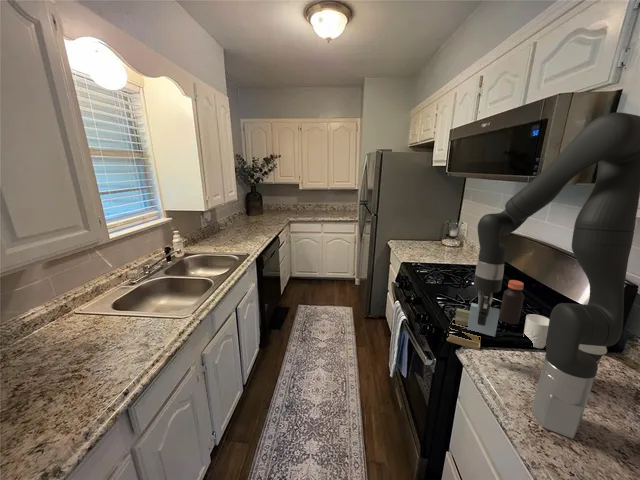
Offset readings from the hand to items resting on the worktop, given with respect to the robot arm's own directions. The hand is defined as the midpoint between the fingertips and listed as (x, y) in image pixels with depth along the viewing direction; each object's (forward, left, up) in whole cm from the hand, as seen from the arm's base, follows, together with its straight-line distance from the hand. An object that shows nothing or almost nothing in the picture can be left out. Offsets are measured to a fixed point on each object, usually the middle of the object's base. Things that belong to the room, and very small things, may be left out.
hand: (481, 322), depth 89 cm
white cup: (+21, -19, -14) cm, 31 cm away
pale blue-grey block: (0, 0, -3) cm, 3 cm away
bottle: (+29, -11, -14) cm, 34 cm away
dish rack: (+12, +4, -14) cm, 19 cm away
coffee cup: (+5, -27, -14) cm, 30 cm away
